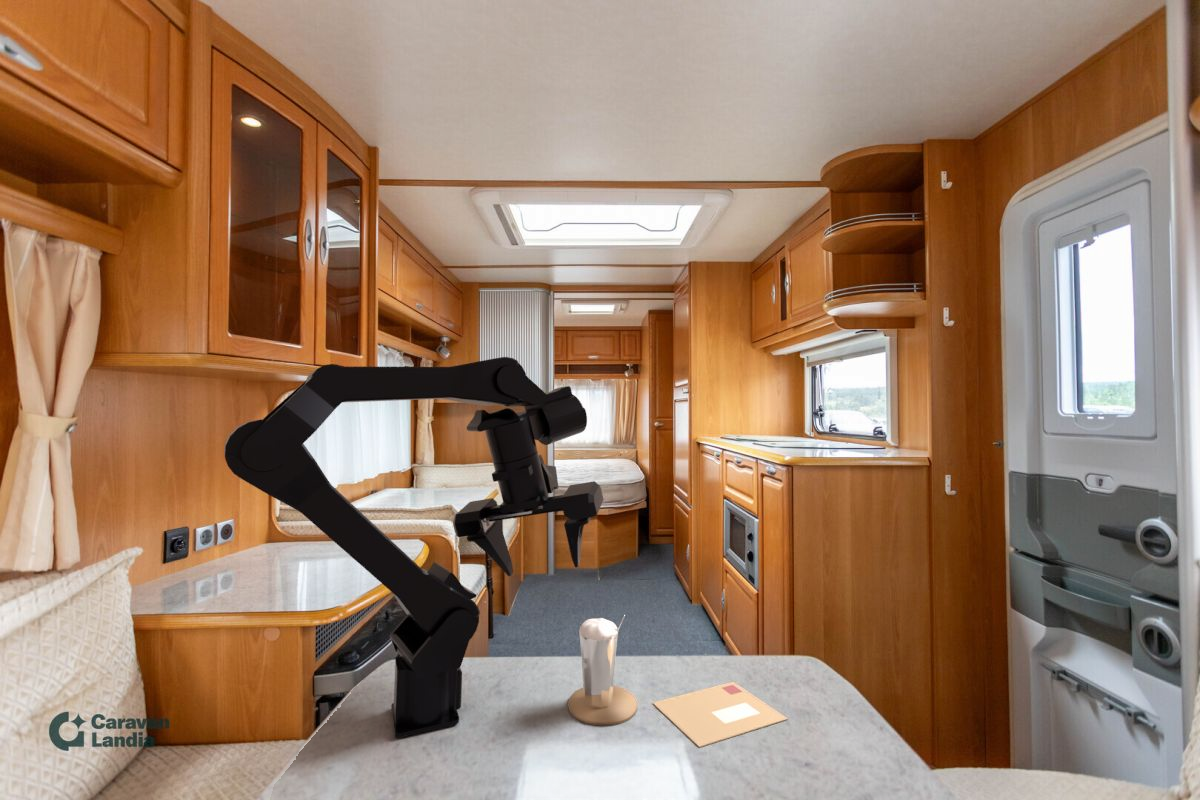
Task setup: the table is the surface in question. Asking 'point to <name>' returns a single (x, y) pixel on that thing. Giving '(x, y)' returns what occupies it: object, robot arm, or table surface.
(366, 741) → the table surface
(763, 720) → the envelope
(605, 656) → the milkshake
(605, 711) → the coaster
